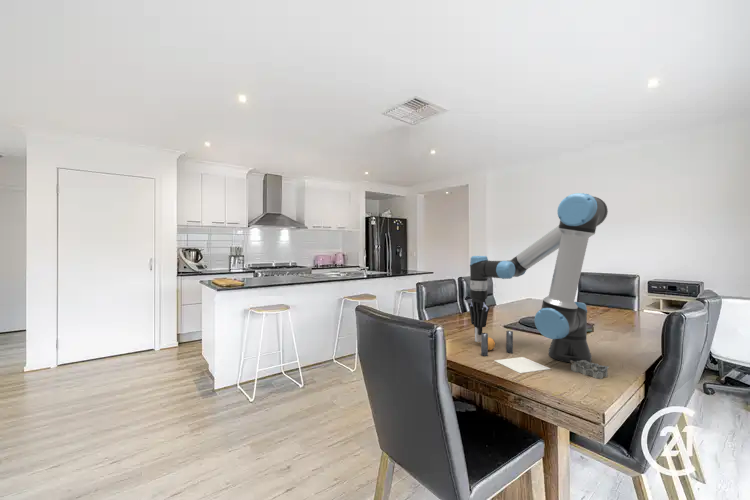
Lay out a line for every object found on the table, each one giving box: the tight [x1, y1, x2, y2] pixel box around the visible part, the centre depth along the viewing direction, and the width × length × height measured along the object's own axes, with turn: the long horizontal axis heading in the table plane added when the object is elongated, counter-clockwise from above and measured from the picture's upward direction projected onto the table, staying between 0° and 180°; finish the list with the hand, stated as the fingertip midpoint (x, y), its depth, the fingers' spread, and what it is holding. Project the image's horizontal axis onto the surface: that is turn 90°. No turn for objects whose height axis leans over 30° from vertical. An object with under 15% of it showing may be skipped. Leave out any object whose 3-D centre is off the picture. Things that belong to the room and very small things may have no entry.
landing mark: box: [493, 356, 552, 374], centre depth 129 cm, size 14×14×1 cm
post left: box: [480, 332, 489, 357], centre depth 140 cm, size 3×3×9 cm
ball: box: [488, 336, 496, 351], centre depth 147 cm, size 6×6×6 cm
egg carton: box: [570, 360, 610, 380], centre depth 121 cm, size 11×8×4 cm
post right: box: [505, 330, 514, 354], centre depth 144 cm, size 3×3×9 cm
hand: (478, 341), depth 154 cm, fingers closed
